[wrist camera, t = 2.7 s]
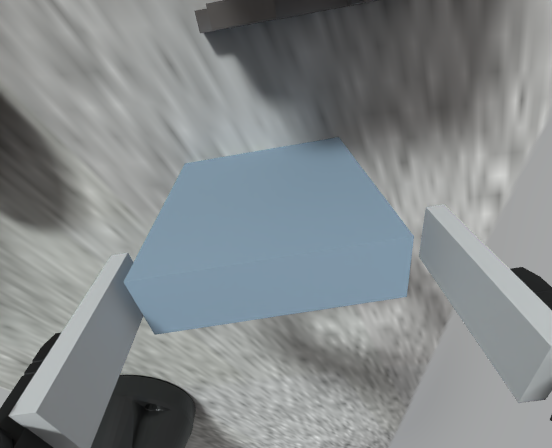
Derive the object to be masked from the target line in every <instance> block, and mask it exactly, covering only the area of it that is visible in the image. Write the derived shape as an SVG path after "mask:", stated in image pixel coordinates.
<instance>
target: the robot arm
mask: <svg viewBox="0 0 552 448" xmlns="http://www.w3.org/2000/svg"><path fill="white" fill-rule="evenodd" d="M419 257H420V259H421V260H422V262H423V263H424V265H425V266H426V268H427V269H428V271H429V272H430V274H431V275H432V277H433V278H434V280H435V281H436V282H437V284H438V285H439V287H440V288H441V290H442V291H443V293H444V294H445V296H446V297H447V299H448V300H449V302H450V303H451V305H452V306H453V308H454V309H455V310H456V312H457V313H458V315H459V316H460V318H461V319H462V321H463V322H464V324H465V325H466V327H467V328H468V330H469V331H470V333H471V334H472V336H473V337H474V338H475V340H476V341H477V343H478V344H479V346H480V347H481V349H482V350H483V352H484V353H485V355H486V356H487V358H488V359H489V361H490V362H491V363H492V365H493V366H494V368H495V369H496V371H497V372H498V374H499V375H500V377H501V378H502V380H503V381H504V383H505V384H506V386H507V387H508V389H509V390H510V391H511V393H512V394H513V396H514V397H515V399H516V400H517V402H518V403H522V402H530V401H538V400H545V399H546V398H547V397H548V395H549V394H550V392H551V391H552V287H551V286H550V285H549V284H547V283H546V282H545V281H544V280H543V279H542V278H541V277H540V276H538V275H536V274H534V273H532V272H530V271H529V270H526V269H525V268H523V267H519V268H513V269H509V268H508V267H507V266H506V265H505V264H504V263H503V262H502V261H501V260H500V259H499V258H498V257H497V256H496V255H495V254H494V253H493V252H492V251H491V250H490V249H489V248H488V247H487V246H486V245H485V244H484V243H483V242H482V241H481V240H480V239H479V238H478V237H477V236H476V235H475V234H474V233H473V232H472V231H471V230H470V229H469V228H468V227H467V226H466V225H465V224H464V223H463V222H462V221H461V220H460V219H459V218H458V217H457V216H456V215H455V214H454V213H453V212H452V211H451V210H449V209H448V208H447V207H446V206H445V205H444V204H443V205H437V206H430V207H426V210H425V217H424V224H423V231H422V238H421V245H420V252H419ZM132 265H133V261H132V259H131V257H130V256H129V254H128V253H122V254H115V255H111V256H110V258H109V260H108V261H107V263H106V264H105V266H104V267H103V269H102V271H101V272H100V274H99V275H98V277H97V278H96V280H95V281H94V283H93V285H92V286H91V288H90V289H89V291H88V292H87V294H86V295H85V297H84V299H83V300H82V302H81V303H80V305H79V306H78V308H77V309H76V311H75V313H74V314H73V316H72V317H71V319H70V320H69V322H68V324H67V325H66V327H65V328H64V330H63V331H62V333H56V334H55V335H54V336H53V337H51V338H50V339H49V340H48V341H47V342H46V343H45V344H44V345H43V346H42V347H41V349H40V350H39V352H38V353H37V355H36V356H35V358H34V359H33V363H32V364H30V365H29V367H28V368H27V370H26V371H25V375H24V376H22V377H21V378H20V380H19V381H18V383H17V384H16V386H15V387H14V389H13V390H12V392H11V393H10V395H9V396H8V398H7V399H6V401H5V402H4V404H3V405H2V407H1V408H0V448H185V446H186V443H187V441H188V439H189V437H190V435H191V432H192V428H193V423H194V417H195V405H194V402H193V401H192V399H191V398H190V397H189V396H188V395H187V394H186V393H185V392H184V391H182V390H181V389H179V388H177V387H175V386H173V385H171V384H169V383H166V382H163V381H160V380H156V379H152V378H147V377H140V376H119V375H120V373H121V370H122V368H123V365H124V363H125V360H126V358H127V355H128V353H129V350H130V348H131V345H132V343H133V340H134V338H135V335H136V333H137V330H138V328H139V325H140V323H141V320H142V318H143V314H142V312H141V311H140V309H139V307H138V306H137V304H136V302H135V301H134V299H133V297H132V296H131V294H130V292H129V291H128V289H127V287H126V286H125V284H124V280H125V278H126V276H127V274H128V272H129V270H130V268H131V267H132ZM550 420H551V421H552V415H551V418H550Z"/></svg>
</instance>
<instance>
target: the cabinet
mask: <svg viewBox="0 0 552 448" xmlns="http://www.w3.org/2000/svg"><path fill="white" fill-rule="evenodd" d="M372 1H377V0H223V1H218V2H213V3H208V4H206V6H207V9H202V10H197V11H195V15H196V19H197V23H198V27H199V31H200V33H206V32H212V31H217V30H222V29H228V28H233V27H238V26H244V25H249V24H254V23H260V22H265V21H270V20H276V19H281V18H286V17H292V16H297V15H302V14H308V13H313V12H318V11H324V10H329V9H334V8H340V7H345V6H350V5H356V4H361V3H366V2H372Z"/></svg>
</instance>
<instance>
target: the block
mask: <svg viewBox="0 0 552 448" xmlns="http://www.w3.org/2000/svg"><path fill="white" fill-rule="evenodd" d="M413 239H414V236H413V235H412V233H411V232H410V231H409V229H408V228H407V227H406V225H405V224H404V223H403V221H402V220H401V219H400V217H399V216H398V215H397V213H396V212H395V211H394V209H393V208H392V207H391V206H390V204H389V203H388V202H387V200H386V199H385V198H384V196H383V195H382V194H381V192H380V191H379V190H378V188H377V187H376V186H375V184H374V183H373V182H372V180H371V179H370V178H369V177H368V175H367V174H366V173H365V171H364V170H363V169H362V167H361V166H360V165H359V163H358V162H357V161H356V159H355V158H354V157H353V155H352V154H351V153H350V151H349V150H348V149H347V148H346V146H345V145H344V144H343V142H342V141H341V140H340V138H339V137H337V138H331V139H325V140H319V141H313V142H307V143H302V144H296V145H290V146H284V147H278V148H272V149H267V150H261V151H255V152H249V153H243V154H238V155H232V156H226V157H220V158H214V159H208V160H203V161H197V162H191V163H185V165H184V167H183V169H182V170H181V172H180V174H179V176H178V178H177V180H176V182H175V184H174V186H173V188H172V190H171V192H170V194H169V195H168V197H167V199H166V201H165V203H164V205H163V207H162V209H161V211H160V213H159V215H158V217H157V218H156V220H155V222H154V224H153V226H152V228H151V230H150V232H149V234H148V236H147V238H146V240H145V242H144V243H143V245H142V247H141V249H140V251H139V253H138V255H137V257H136V259H135V261H134V263H133V265H132V267H131V268H130V270H129V272H128V274H127V276H126V278H125V280H124V284H125V286H126V287H127V289H128V291H129V292H130V294H131V296H132V297H133V299H134V301H135V302H136V304H137V306H138V307H139V309H140V311H141V312H142V314H143V316H144V317H145V319H146V321H147V322H148V324H149V326H150V327H151V329H152V331H153V332H154V334H162V333H169V332H175V331H182V330H189V329H195V328H202V327H209V326H215V325H222V324H229V323H235V322H242V321H249V320H255V319H262V318H269V317H275V316H282V315H289V314H295V313H302V312H309V311H315V310H322V309H328V308H335V307H342V306H348V305H355V304H362V303H368V302H375V301H382V300H388V299H395V298H402V297H407V290H408V281H409V273H410V265H411V256H412V248H413Z"/></svg>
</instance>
